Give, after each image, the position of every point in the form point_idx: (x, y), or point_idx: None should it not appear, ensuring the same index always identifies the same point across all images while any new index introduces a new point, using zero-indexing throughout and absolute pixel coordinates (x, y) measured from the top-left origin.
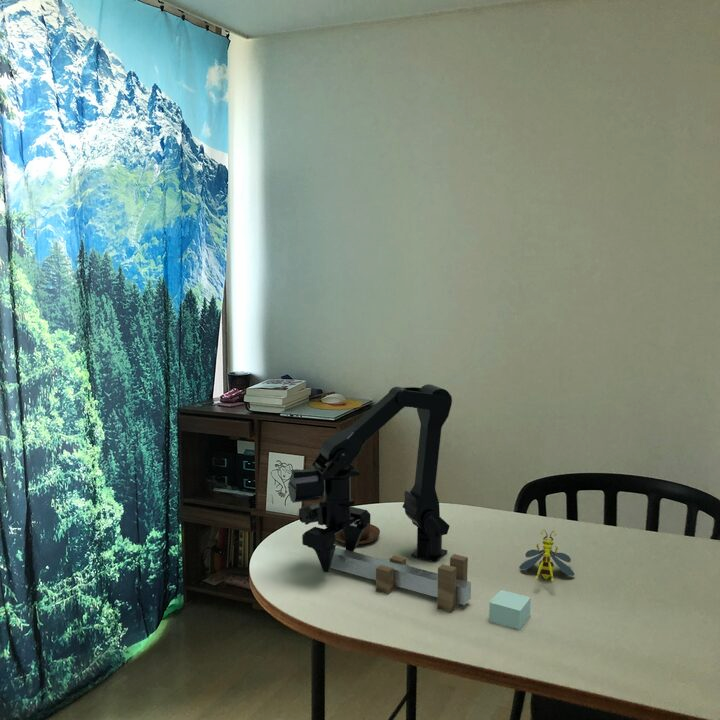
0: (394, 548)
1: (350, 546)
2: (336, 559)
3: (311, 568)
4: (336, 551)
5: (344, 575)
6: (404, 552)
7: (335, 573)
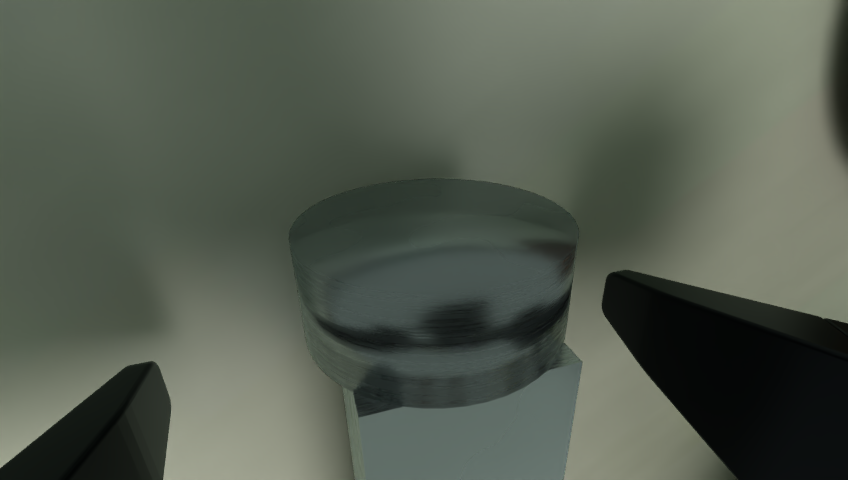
0: None
1: (700, 379)
2: (355, 447)
3: (251, 12)
4: (452, 457)
5: None
6: None
7: None
